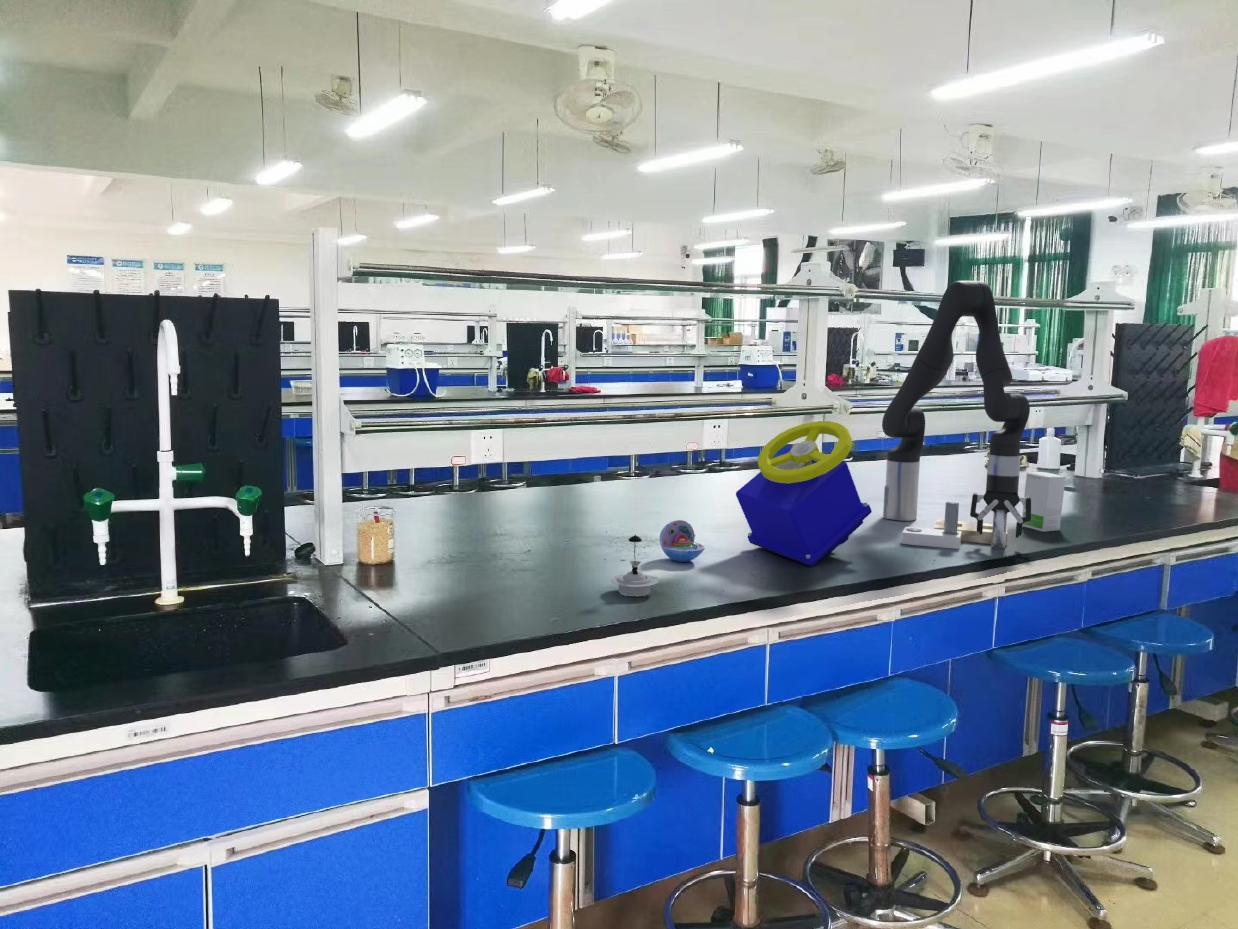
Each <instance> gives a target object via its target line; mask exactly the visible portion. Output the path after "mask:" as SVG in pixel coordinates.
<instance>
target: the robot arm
mask: <svg viewBox="0 0 1238 929" xmlns="http://www.w3.org/2000/svg"><path fill="white" fill-rule="evenodd" d="M962 317H972V318H973V319H974V321H975V322H976V326H977V328H978V333H979V334H978V341H977V346H976V350H975V362H976V367H977V370H978V372H979V375H980V379H981V381H982V386H983V406H984V410H985V414H986V416H988V418H989V419H990V420H991V421H993V422H997V423H1003V425H1002V427H1001V429H999V430H996V431H994V432H992V434H991V435H990V439H989V454H988V461H987V467H986V471H987V472H986V483H985V492H984V494H981V493H978V492H974V493H972V495H971V496H972V498H971V504H970V510H969V511H970V512H969V513H970V514H969V517H971V518H974V519H976V523H977V532H979V534H981V535H982V531H983V523H984V518H986V516H987V515H988V514H989V513H990V512H993V513H994V512H995V511H996V510H1006V513H1007V514H1008V513H1011V515H1012V516H1013V517H1014V518H1015V520H1016V524H1015V525H1016V526H1015V538H1020V537H1021V536H1022V534H1023V526H1022V525H1023V523H1024V522H1027V521H1028V522H1029V521H1031V498H1030V497H1024V496H1023V497H1021V496H1020V495H1019V484H1020V482H1019V481H1020V472H1021V463H1020V462H1021V459H1020V453H1021V440H1022V437H1023V434H1024V433H1025V432H1024V431H1025V429H1026V427H1027V423H1028V420H1029V417H1030V414H1031V407H1030V402H1029V400H1028V398H1027V396H1025V395H1024V394H1022V393H1018V392H1017V393H1006V392H1005V389H1004V388H1005V387H1007V386H1009V385H1010V384H1011V383H1012V381H1013V373H1012V371H1011V368H1010V365H1009V362H1008V360H1007V356H1006V354H1005V351H1004V347H1003V344H1002V340H1001V335H1000V328H999V322H998V316H997V310H996V303H995V298H994V295H993V292H992V289H991V287H990V286H989V284H987V283H986V282H985V281H982V280H956V281H953V282H951V283H950V284H949V285H948V287H946V289H945V291H944V293H943V295H942V298H941V300H940V302H939V305H938V307H937V311H936V314H935V317H934V319H933V320H932V321H933V322H932V324H931V326H930V329H929V330H928V332H927V335H926V337H925V339H924V342H923V343H922V345H921V347H920V349H919V351H918V352H917V355H916V356H915V358H914V360H913V361H912V362H913V363H912V365H911V367H910V368H909V371H908V373H907V375H906V377H905V379H904V380H903V381H902V382H903V383H902V385H901V386H900V388H899V390H898V391H897V393H896V394H895V395H894V397H893V399H892V400H891V402H890V403H889V405H888V406H887V408H886V410H885V411H884V415H883V417H882V421H881V426H882V432H883V433H884V435H886V436H887V437H889V438H893V439H894V438H896V439H901V441H900V442H899V443H898V444H897V445H895V446H894V447H892V448H890V449H888V451H887V454H886V470H885V471H886V472H885V485H884V490H883V511H882V513H883V514H882V518H883V519H888V520H892V521H902V522H903V521H904V522H905V521H906V522H908V521H909V522H910V521H915V520H917V518H918V517H917V514H918V498H919V479H920V463H921V462H920V460H921V454H922V452H923V451H924V450H923V448H924V440H925V432H926V417H925V416H926V415H925V412H924V411H923V409H922V408H921V407H919V406H917V405H916V404H917V403H918V402H919V401H920V400H921V399H923V397H925V396H926V395H928V394H929V393H930V392H931V391H932V390H934V389H935V388H936V387H937V386H938V385H939V384H940V383H941V382H942V381H943V380H944V378H945V376H946V374H947V373H948V371H949V370H950V367H951V365H952V363H953V359H954V346H953V340H952V337H953V332H954V331H955V328H956V326H957V324H958V322H959V321H960V319H961V318H962ZM981 500H983V501H984V502H985V503H986V506H985V507H984V508H983V509H982V510H981V511H980V512H979V513H978V512H977V504H979V503H980V502H981ZM1019 503H1021V504H1022V507H1023V506H1026V516H1024V517H1022V514H1020V512H1019V511H1018V510H1017V508H1016V507H1017V505H1018V504H1019Z"/></svg>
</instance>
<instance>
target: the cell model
mask: <svg viewBox="0 0 1238 929" xmlns="http://www.w3.org/2000/svg"><path fill="white" fill-rule="evenodd" d="M658 538H659V540H658V541H659V545H660V547H661V550H662V552H663V553H664V555H665V556H667V557H668V558H669V559H670V560H672V561H675V562H678V561H679V563H686V562H687V563H688V562H690V561H691V562H692V561H693V560H695V559H696V558H698V557H699V556H700V555H701V554H703V552H704V550H705V547H704V545H703V544H701V543H698V542H695V539H696V534H695V531H694V528H693V526H692V524H690V523H689V522H688V521H686V520H683V519H677V520H676V519H675V520H673V521H670V522H669V523H666V525H664V526H663V528H662V529H661V531H660V533H659V537H658Z"/></svg>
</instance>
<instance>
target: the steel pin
mask: <svg viewBox="0 0 1238 929" xmlns="http://www.w3.org/2000/svg"><path fill="white" fill-rule="evenodd" d="M1007 520H1008V513H1006V510H996V511H995V512H993V520H992V524H993V529H992V544H991V548H992V549H995V550H1005V548H1006V545H1005V539H1006V525H1007V526H1008V523H1007V522H1008V521H1007Z"/></svg>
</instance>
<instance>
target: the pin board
mask: <svg viewBox="0 0 1238 929" xmlns="http://www.w3.org/2000/svg"><path fill="white" fill-rule="evenodd" d="M944 523H945V519H936V521H935V523H934V526H933V529H940V530H944ZM992 529H993V523H986V522H983V531H982V535H981V534H979V532H977V521H976V522H973V521H961V520H958V528H957V531H962V532H961V542H969V543H976V544H977V543H979V544H988V545H989V544H992ZM1007 542H1008V524H1007V525H1006V539H1005V546H1007Z"/></svg>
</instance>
